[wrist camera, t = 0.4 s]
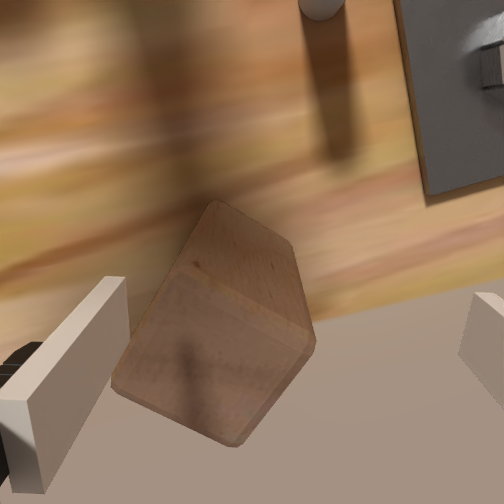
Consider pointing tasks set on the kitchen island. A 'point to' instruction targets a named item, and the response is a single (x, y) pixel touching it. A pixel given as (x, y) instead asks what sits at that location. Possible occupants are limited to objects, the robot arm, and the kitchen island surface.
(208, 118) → the kitchen island surface
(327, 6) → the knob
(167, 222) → the kitchen island surface
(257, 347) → the wooden block
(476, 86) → the base plate
